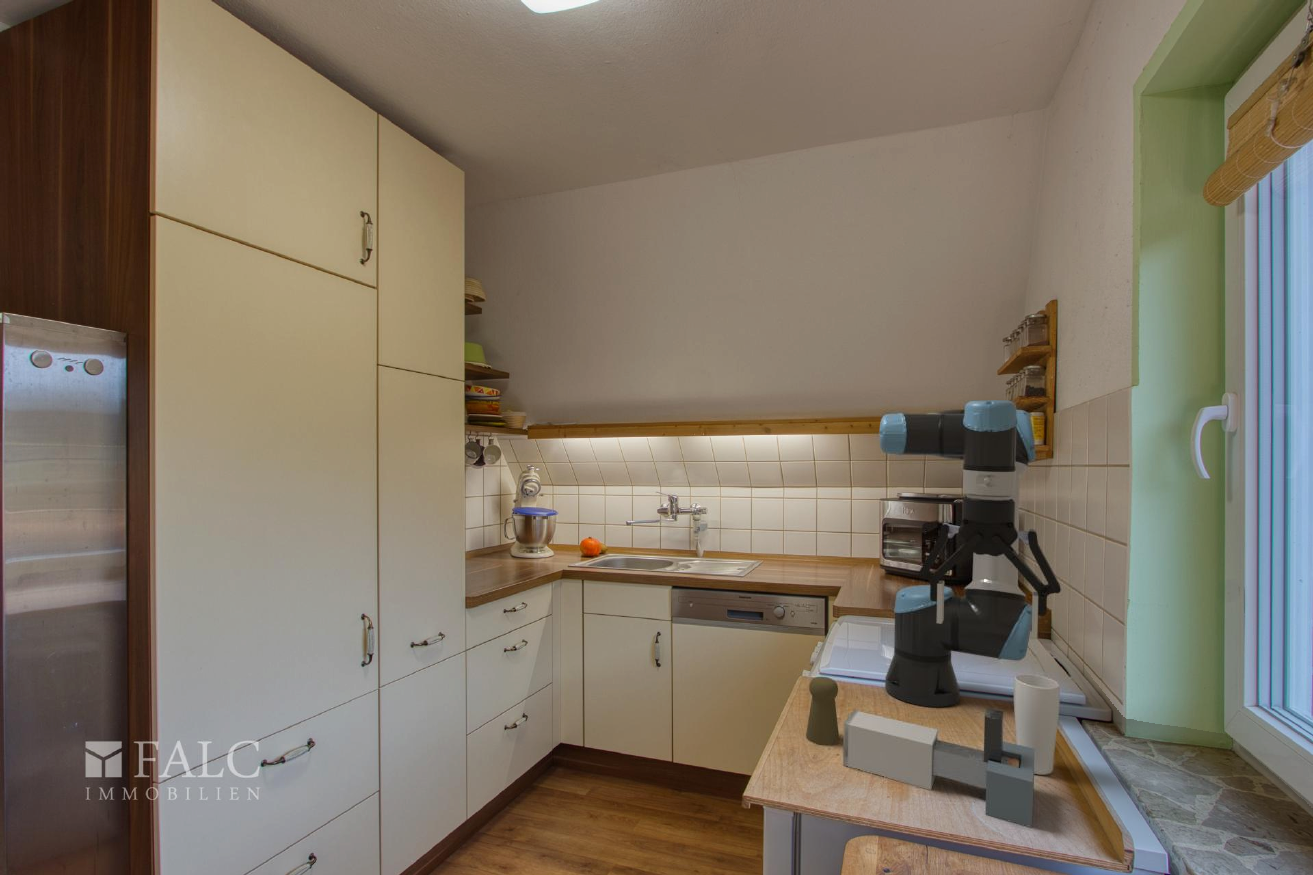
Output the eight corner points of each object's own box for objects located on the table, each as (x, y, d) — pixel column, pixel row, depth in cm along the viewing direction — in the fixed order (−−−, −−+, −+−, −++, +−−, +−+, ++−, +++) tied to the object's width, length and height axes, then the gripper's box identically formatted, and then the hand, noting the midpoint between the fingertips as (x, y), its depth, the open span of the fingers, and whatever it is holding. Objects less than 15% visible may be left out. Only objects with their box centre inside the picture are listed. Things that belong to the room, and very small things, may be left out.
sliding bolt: (898, 753, 112) (899, 689, 112) (1018, 784, 102) (1020, 714, 102) (893, 764, 108) (894, 697, 108) (1017, 797, 99) (1019, 724, 99)
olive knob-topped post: (840, 747, 118) (841, 686, 118) (806, 743, 119) (807, 683, 119) (838, 732, 124) (839, 674, 124) (805, 728, 125) (806, 671, 125)
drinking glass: (1062, 781, 107) (1064, 690, 107) (1015, 773, 110) (1017, 684, 110) (1053, 762, 114) (1054, 676, 114) (1009, 755, 116) (1011, 671, 116)
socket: (991, 778, 108) (992, 738, 108) (1033, 789, 105) (1034, 748, 105) (985, 814, 98) (986, 770, 98) (1031, 827, 95) (1032, 781, 95)
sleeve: (852, 750, 117) (853, 710, 117) (936, 772, 110) (937, 729, 110) (842, 765, 111) (843, 723, 111) (930, 789, 104) (931, 744, 104)
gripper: (902, 494, 108) (900, 621, 108) (1082, 504, 95) (1079, 648, 96) (909, 490, 114) (907, 610, 115) (1079, 499, 102) (1076, 634, 102)
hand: (985, 628), depth 105 cm, fingers open, 13 cm apart
